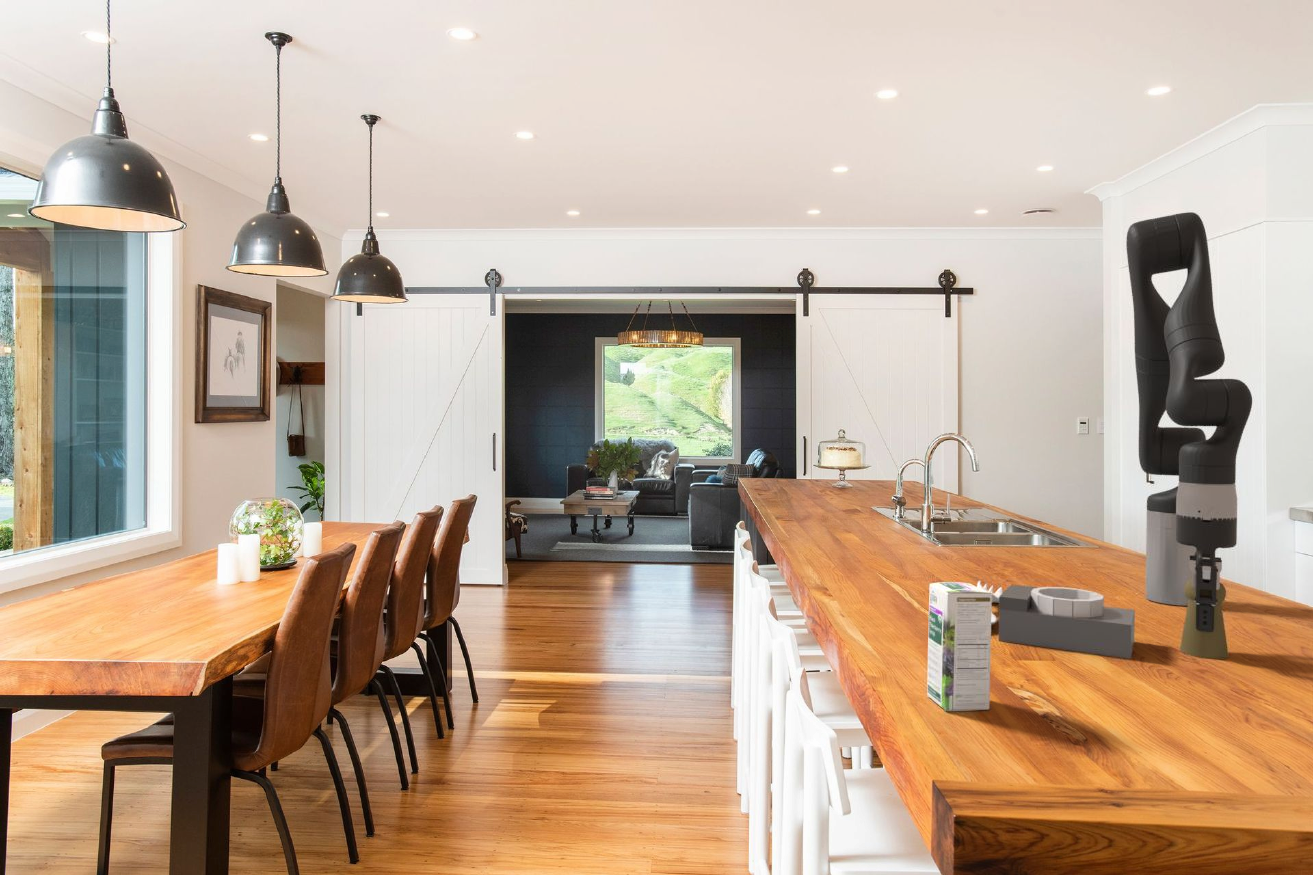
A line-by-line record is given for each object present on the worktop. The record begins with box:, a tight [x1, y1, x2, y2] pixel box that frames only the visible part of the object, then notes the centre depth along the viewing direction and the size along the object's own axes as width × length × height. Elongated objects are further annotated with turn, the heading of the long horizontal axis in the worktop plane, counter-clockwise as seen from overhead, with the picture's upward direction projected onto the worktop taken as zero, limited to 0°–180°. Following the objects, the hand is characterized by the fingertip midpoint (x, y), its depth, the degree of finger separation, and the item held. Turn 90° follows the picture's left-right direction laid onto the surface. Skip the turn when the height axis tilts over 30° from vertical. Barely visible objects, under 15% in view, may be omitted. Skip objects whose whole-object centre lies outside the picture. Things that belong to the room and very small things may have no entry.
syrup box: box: [926, 581, 993, 712], centre depth 100 cm, size 6×6×14 cm
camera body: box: [998, 584, 1136, 660], centre depth 127 cm, size 11×18×8 cm, turn 57°
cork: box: [1179, 579, 1229, 660], centre depth 121 cm, size 6×6×11 cm
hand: (1204, 626), depth 121 cm, fingers closed on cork, 4 cm apart
